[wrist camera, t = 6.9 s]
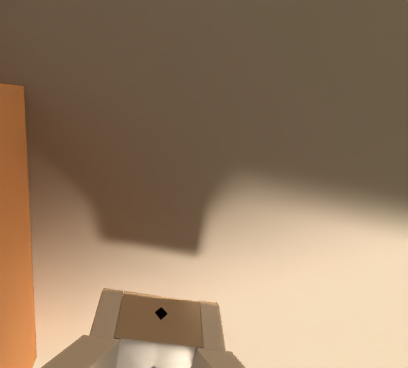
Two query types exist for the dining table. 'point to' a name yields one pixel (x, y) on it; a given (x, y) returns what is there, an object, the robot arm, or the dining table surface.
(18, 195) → the orange block
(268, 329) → the dining table surface
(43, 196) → the dining table surface
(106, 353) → the robot arm
